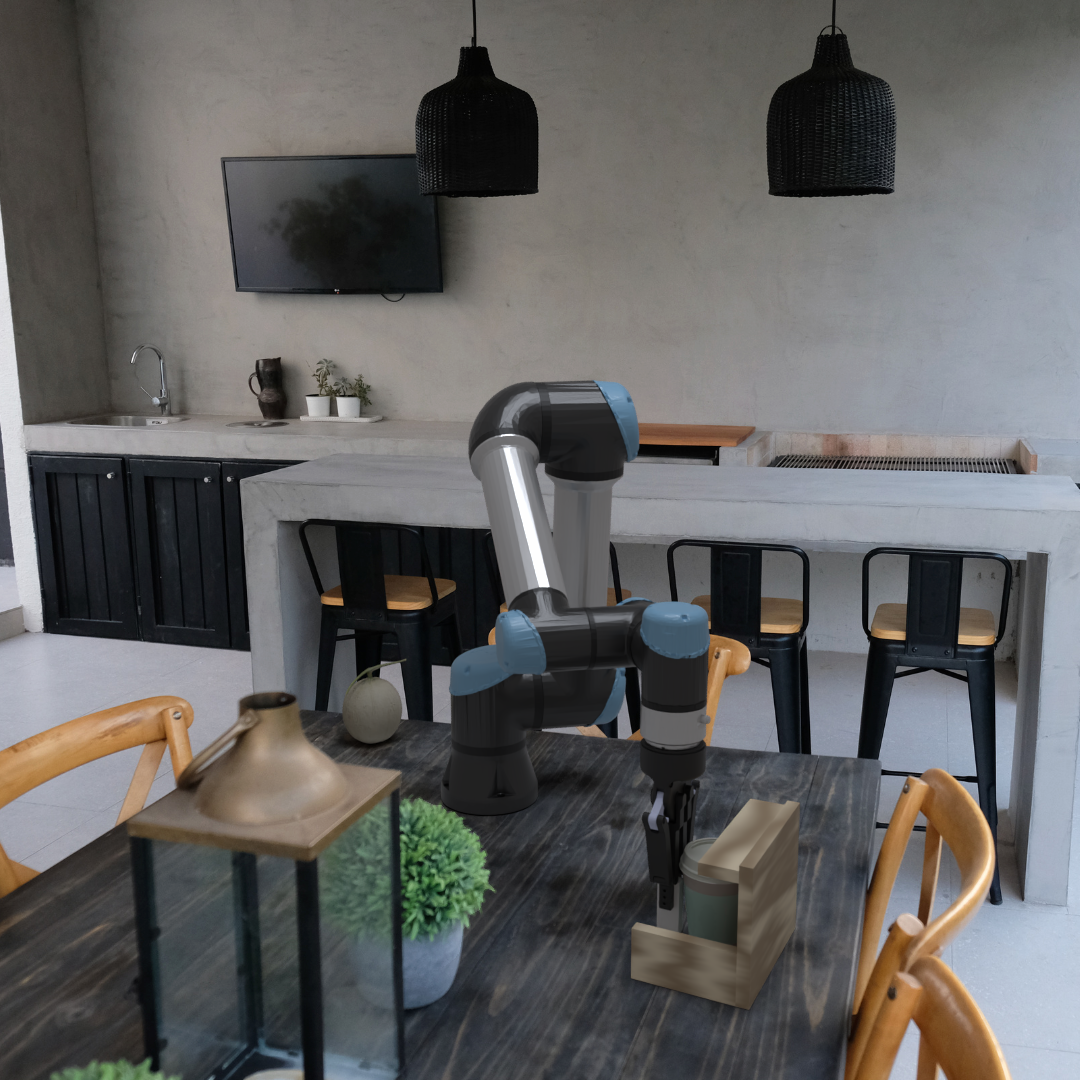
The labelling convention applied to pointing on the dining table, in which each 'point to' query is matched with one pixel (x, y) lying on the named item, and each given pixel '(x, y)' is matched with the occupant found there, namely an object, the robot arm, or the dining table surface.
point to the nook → (763, 912)
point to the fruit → (372, 707)
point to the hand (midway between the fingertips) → (669, 929)
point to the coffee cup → (708, 898)
